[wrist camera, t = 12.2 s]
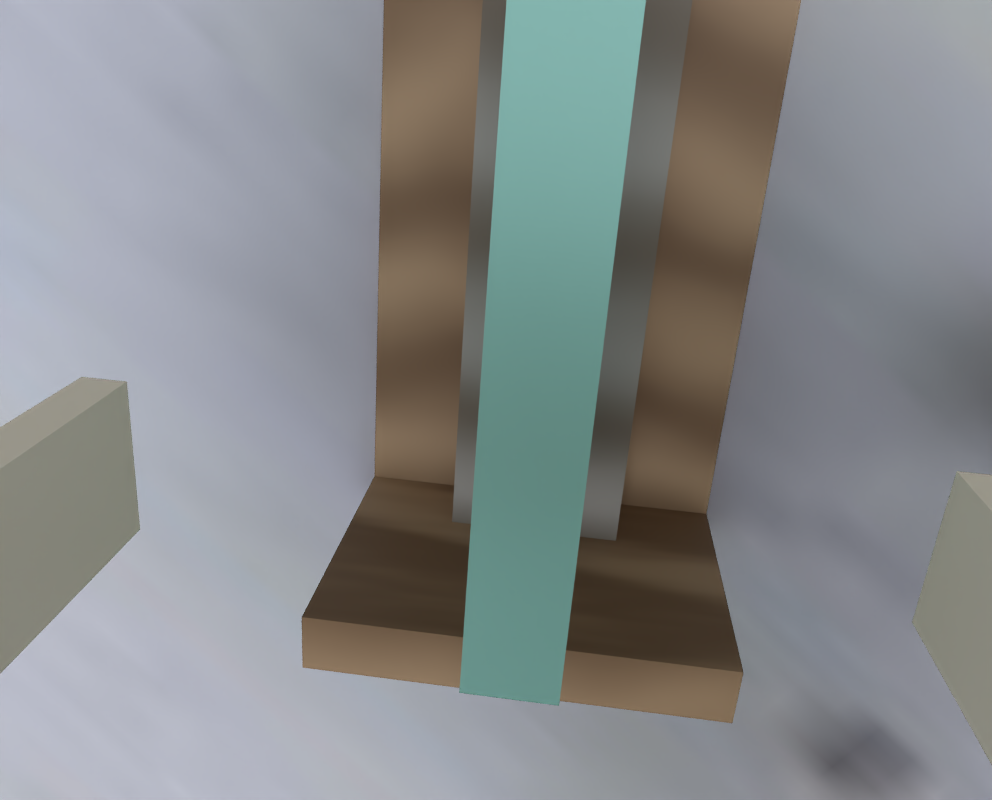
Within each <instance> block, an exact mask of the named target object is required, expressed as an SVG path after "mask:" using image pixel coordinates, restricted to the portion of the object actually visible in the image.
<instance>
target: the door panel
mask: <svg viewBox="0 0 992 800" xmlns="http://www.w3.org/2000/svg"><path fill="white" fill-rule="evenodd" d="M645 4H646V0H507V1H506V16H505V31H504V45H503V60H502V75H501V89H500V104H499V119H498V133H497V148H496V163H495V177H494V192H493V207H492V221H491V236H490V251H489V265H488V280H487V295H486V310H485V324H484V339H483V354H482V368H481V383H480V398H479V412H478V427H477V442H476V456H475V471H474V486H473V500H472V515H471V530H470V544H469V559H468V574H467V588H466V603H465V618H464V632H463V647H462V662H461V676H460V691H459V693H465V694H473V695H481V696H488V697H496V698H504V699H512V700H519V701H527V702H535V703H542V704H550V705H558V706H559V702H560V694H561V686H562V678H563V670H564V661H565V653H566V645H567V637H568V629H569V621H570V613H571V605H572V596H573V588H574V580H575V572H576V564H577V556H578V548H579V540H580V532H581V523H582V515H583V507H584V499H585V491H586V483H587V475H588V467H589V458H590V450H591V442H592V434H593V426H594V418H595V410H596V402H597V394H598V385H599V377H600V369H601V361H602V353H603V345H604V337H605V329H606V320H607V312H608V304H609V296H610V288H611V280H612V272H613V264H614V256H615V247H616V239H617V231H618V223H619V215H620V207H621V199H622V191H623V182H624V174H625V166H626V158H627V150H628V142H629V134H630V126H631V118H632V109H633V101H634V93H635V85H636V77H637V69H638V61H639V53H640V44H641V36H642V28H643V20H644V12H645Z"/></svg>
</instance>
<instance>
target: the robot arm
mask: <svg viewBox="0 0 992 800" xmlns="http://www.w3.org/2000/svg"><path fill="white" fill-rule="evenodd" d="M139 530H140V524H139V513H138V501H137V490H136V479H135V468H134V457H133V446H132V435H131V424H130V412H129V401H128V390H127V382H125V381H115V380H106V379H97V378H87V377H81V378H79V379H77V380H76V381H74V382H73V383H71V384H69V385H68V386H66V387H65V388H63V389H61V390H60V391H58V392H57V393H55V394H53V395H52V396H50V397H48V398H47V399H45V400H44V401H42V402H40V403H39V404H37V405H36V406H34V407H32V408H31V409H29V410H27V411H26V412H24V413H23V414H21V415H19V416H18V417H16V418H15V419H13V420H11V421H10V422H8V423H6V424H5V425H3V426H2V427H0V674H1V672H2V671H3V670H4V669H5V668H6V667H7V666H8V665H9V664H10V663H11V662H12V661H13V660H14V659H15V658H16V657H17V656H18V655H19V654H20V653H21V652H22V651H23V650H24V649H25V648H26V647H27V646H28V645H29V644H30V643H31V641H32V640H33V639H34V638H35V637H36V636H37V635H38V634H39V633H40V632H41V631H42V630H43V629H44V628H45V627H46V626H47V625H48V624H49V623H50V622H51V621H52V620H53V619H54V618H55V617H56V616H57V615H58V614H59V613H60V612H61V610H62V609H63V608H64V607H65V606H66V605H67V604H68V603H69V602H70V601H71V600H72V599H73V598H74V597H75V596H76V595H77V594H78V593H79V592H80V591H81V590H82V589H83V588H84V587H85V586H86V585H87V584H88V583H89V582H90V581H91V580H92V578H93V577H94V576H95V575H96V574H97V573H98V572H99V571H100V570H101V569H102V568H103V567H104V566H105V565H106V564H107V563H108V562H109V561H110V560H111V559H112V558H113V557H114V556H115V555H116V554H117V553H118V552H119V551H120V550H121V549H122V547H123V546H124V545H125V544H126V543H127V542H128V541H129V540H130V539H131V538H132V537H133V536H134V535H135V534H136V533H137V532H138V531H139ZM912 623H913V625H914V627H915V628H916V630H917V632H918V634H919V636H920V637H921V639H922V641H923V643H924V645H925V646H926V648H927V650H928V652H929V654H930V655H931V657H932V659H933V661H934V662H935V664H936V666H937V668H938V670H939V671H940V673H941V675H942V677H943V679H944V680H945V682H946V684H947V686H948V687H949V689H950V691H951V693H952V695H953V696H954V698H955V700H956V702H957V704H958V705H959V707H960V709H961V711H962V713H963V714H964V716H965V718H966V720H967V721H968V723H969V725H970V727H971V729H972V730H973V732H974V734H975V736H976V738H977V739H978V741H979V743H980V745H981V747H982V748H983V750H984V752H985V754H986V755H987V757H988V759H989V761H990V763H991V764H992V475H987V474H977V473H968V472H959V471H957V472H956V475H955V479H954V482H953V486H952V489H951V492H950V496H949V499H948V503H947V506H946V509H945V513H944V516H943V519H942V523H941V526H940V530H939V533H938V536H937V540H936V543H935V547H934V550H933V553H932V557H931V560H930V563H929V567H928V570H927V574H926V577H925V580H924V584H923V587H922V591H921V594H920V597H919V601H918V604H917V607H916V611H915V614H914V618H913V621H912Z"/></svg>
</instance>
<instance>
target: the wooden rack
mask: <svg viewBox="0 0 992 800" xmlns="http://www.w3.org/2000/svg"><path fill="white" fill-rule="evenodd" d="M506 1H507V0H384V27H383V77H382V128H381V178H380V229H379V279H378V330H377V380H376V431H375V477H374V478H373V480H372V482H371V484H370V486H369V488H368V490H367V492H366V494H365V496H364V498H363V500H362V502H361V504H360V506H359V507H358V509H357V511H356V513H355V515H354V517H353V519H352V521H351V523H350V525H349V527H348V529H347V531H346V533H345V535H344V537H343V538H342V540H341V542H340V544H339V546H338V548H337V550H336V552H335V554H334V556H333V558H332V560H331V562H330V564H329V566H328V567H327V569H326V571H325V573H324V575H323V577H322V579H321V581H320V583H319V585H318V587H317V589H316V591H315V593H314V595H313V597H312V598H311V600H310V602H309V604H308V606H307V608H306V610H305V612H304V614H303V616H302V656H303V668H311V669H319V670H326V671H334V672H342V673H350V674H357V675H365V676H373V677H380V678H388V679H396V680H404V681H411V682H419V683H427V684H434V685H442V686H450V687H457V688H460V676H461V662H462V647H463V632H464V618H465V603H466V588H467V574H468V559H469V544H470V530H471V515H472V500H473V486H474V471H475V456H476V442H477V427H478V412H479V398H480V383H481V368H482V354H483V339H484V324H485V310H486V295H487V280H488V265H489V251H490V236H491V221H492V207H493V192H494V177H495V163H496V148H497V133H498V119H499V104H500V89H501V75H502V60H503V45H504V31H505V16H506ZM800 3H801V0H646V4H645V12H644V20H643V28H642V36H641V44H640V53H639V61H638V69H637V77H636V85H635V93H634V101H633V109H632V118H631V126H630V134H629V142H628V150H627V158H626V166H625V174H624V182H623V191H622V199H621V207H620V215H619V223H618V231H617V239H616V247H615V256H614V264H613V272H612V280H611V288H610V296H609V304H608V312H607V320H606V329H605V337H604V345H603V353H602V361H601V369H600V377H599V385H598V394H597V402H596V410H595V418H594V426H593V434H592V442H591V450H590V458H589V467H588V475H587V483H586V491H585V499H584V507H583V515H582V523H581V532H580V540H579V548H578V556H577V564H576V572H575V580H574V588H573V596H572V605H571V613H570V621H569V629H568V637H567V645H566V653H565V661H564V670H563V678H562V686H561V694H560V701H565V702H573V703H581V704H588V705H596V706H604V707H612V708H619V709H627V710H635V711H642V712H650V713H658V714H665V715H673V716H681V717H689V718H696V719H704V720H712V721H719V722H727V723H732V722H733V718H734V713H735V708H736V704H737V699H738V695H739V690H740V686H741V681H742V677H743V669H742V664H741V660H740V656H739V652H738V647H737V643H736V639H735V635H734V630H733V626H732V622H731V617H730V613H729V609H728V605H727V600H726V596H725V592H724V588H723V583H722V579H721V575H720V570H719V566H718V562H717V558H716V553H715V549H714V545H713V541H712V536H711V532H710V528H709V523H708V519H707V515H706V513H707V507H708V502H709V496H710V491H711V485H712V480H713V475H714V469H715V464H716V458H717V453H718V448H719V442H720V437H721V431H722V426H723V420H724V415H725V410H726V404H727V399H728V393H729V388H730V382H731V377H732V372H733V366H734V361H735V355H736V350H737V344H738V339H739V334H740V328H741V323H742V317H743V312H744V307H745V301H746V296H747V290H748V285H749V279H750V274H751V269H752V263H753V258H754V252H755V247H756V241H757V236H758V231H759V225H760V220H761V214H762V209H763V204H764V198H765V193H766V187H767V182H768V176H769V171H770V166H771V160H772V155H773V149H774V144H775V138H776V133H777V128H778V122H779V117H780V111H781V106H782V100H783V95H784V90H785V84H786V79H787V73H788V68H789V63H790V57H791V52H792V46H793V41H794V35H795V30H796V25H797V19H798V14H799V8H800Z"/></svg>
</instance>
